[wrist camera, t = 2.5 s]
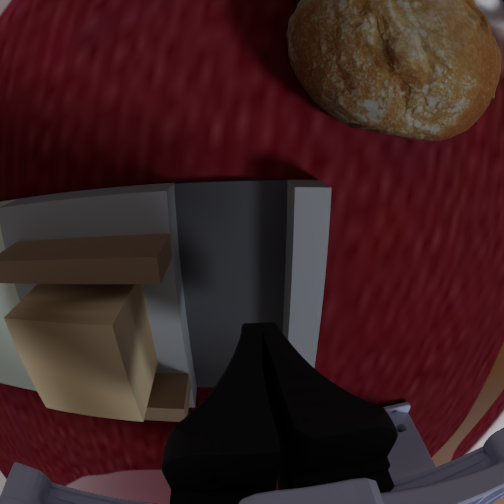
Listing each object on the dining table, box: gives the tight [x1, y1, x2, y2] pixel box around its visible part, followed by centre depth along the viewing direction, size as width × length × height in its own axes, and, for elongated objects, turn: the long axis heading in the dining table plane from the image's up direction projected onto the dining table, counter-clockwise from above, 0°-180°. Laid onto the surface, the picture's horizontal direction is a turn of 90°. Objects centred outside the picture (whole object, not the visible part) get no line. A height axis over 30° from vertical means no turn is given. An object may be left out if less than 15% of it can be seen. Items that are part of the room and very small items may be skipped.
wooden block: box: [4, 284, 158, 422], centre depth 12 cm, size 5×5×4 cm
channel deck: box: [0, 180, 331, 422], centre depth 14 cm, size 22×12×4 cm, turn 90°
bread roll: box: [286, 0, 501, 141], centre depth 10 cm, size 10×10×8 cm
